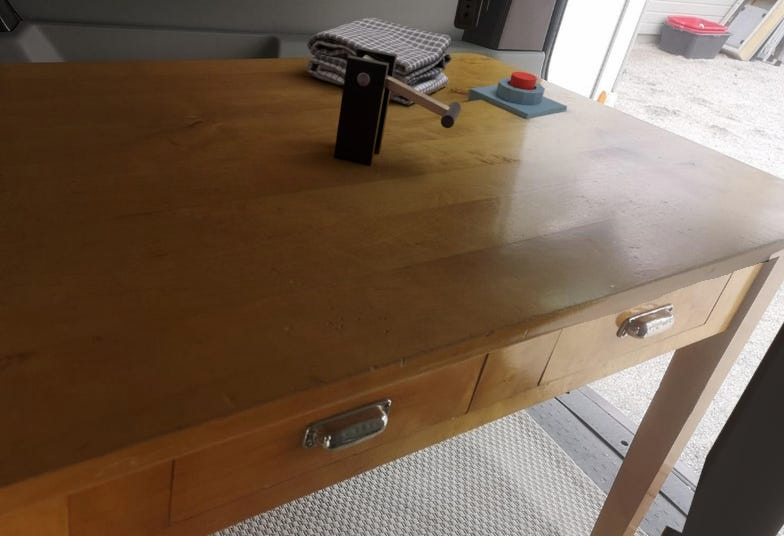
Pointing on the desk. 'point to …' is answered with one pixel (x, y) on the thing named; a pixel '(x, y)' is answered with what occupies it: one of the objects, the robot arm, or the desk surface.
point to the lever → (424, 100)
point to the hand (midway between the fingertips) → (470, 20)
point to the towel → (413, 48)
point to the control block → (517, 99)
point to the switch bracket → (364, 106)
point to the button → (523, 80)
